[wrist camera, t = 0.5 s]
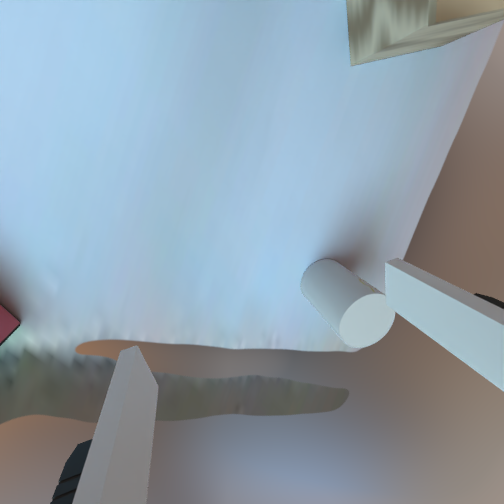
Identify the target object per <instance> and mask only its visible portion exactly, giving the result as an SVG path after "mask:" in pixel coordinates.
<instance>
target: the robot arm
mask: <svg viewBox="0 0 504 504" xmlns="http://www.w3.org/2000/svg"><path fill="white" fill-rule="evenodd" d="M385 288H386V305H387V306H389V307H390V308H392V309H393V310H394V311H396V312H397V313H398V314H400V315H401V316H403V317H404V318H405V319H406V320H408V321H409V322H411V323H412V324H413V325H415V326H416V327H417V328H419V329H420V330H421V331H423V332H424V333H425V334H427V335H428V336H430V337H431V338H432V339H434V340H435V341H436V342H438V343H439V344H440V345H442V346H443V347H444V348H446V349H447V350H448V351H450V352H451V353H452V354H454V355H455V356H456V357H458V358H459V359H461V360H462V361H463V362H465V363H466V364H467V365H469V366H470V367H471V368H473V369H474V370H475V371H477V372H478V373H479V374H481V375H482V376H484V377H485V378H486V379H488V380H489V381H490V382H492V383H493V384H494V385H496V386H497V387H498V388H500V389H501V390H503V391H504V303H503V302H501V301H499V300H497V299H495V298H492V297H488V296H485V295H481V294H477V293H476V294H471V293H469V292H467V291H465V290H463V289H461V288H459V287H457V286H454V285H452V284H450V283H448V282H446V281H444V280H442V279H440V278H438V277H436V276H434V275H431V274H430V273H428V272H426V271H423V270H421V269H419V268H417V267H415V266H413V265H411V264H409V263H407V262H405V261H403V260H401V259H399V258H396V259H393V260H390V261H387V262H385ZM157 396H158V385H157V383H156V381H155V379H154V377H153V375H152V373H151V371H150V369H149V367H148V365H147V363H146V361H145V360H144V357H143V355H142V354H141V352H140V350H139V347H138V346H134V347H131V348H128V349H125V350H122V351H120V355H119V358H118V361H117V364H116V367H115V370H114V373H113V376H112V380H111V383H110V386H109V389H108V392H107V395H106V399H105V402H104V405H103V408H102V411H101V414H100V418H99V421H98V424H97V427H96V430H95V433H94V437H93V439H91V440H88V441H86V442H83V443H80V444H78V445H77V447H76V448H75V450H74V451H73V453H72V454H71V456H70V457H69V459H68V460H67V462H66V463H65V466H64V469H63V471H62V474H61V477H60V479H59V485H57V487H56V490H55V493H54V495H53V501H52V502H51V503H50V504H146V500H147V491H148V481H149V471H150V462H151V453H152V443H153V433H154V424H155V415H156V405H157Z"/></svg>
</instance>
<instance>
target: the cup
mask: <svg viewBox="0 0 504 504" xmlns="http://www.w3.org/2000/svg"><path fill="white" fill-rule="evenodd" d="M300 287H301V292H302V294H303V295H304V297H305V298H306V299H307V300H308V301H309V302H310V304H311V305H312V306H313V307H314V308H315V309H316V311H317V312H318V313H319V314H320V315H321V316H322V318H323V319H324V320H325V321H326V322H327V323H328V325H329V326H330V327H331V328H332V329H333V330H334V332H335V333H336V334H337V335H338V336H339V337H340V338H341V340H342V341H343V342H344V343H345V344H346V345H348V346H350V347H353V348H363V347H367V346H369V345H372V344H374V343H376V342H377V341H379V340H380V339H381V338H382V337H383V336H384V335H385V334H386V333H387V332H388V331H389V329H390V327H391V326H392V324H393V321H394V318H395V311H394V310H393V309H392V308H390V307H389V306H387V305H386V295H385V294H383V293H382V292H380V291H379V290H377V289H376V288H374V287H373V286H371V285H370V284H369V283H367V282H366V281H364V280H363V279H361V278H360V277H358V276H357V275H355V274H354V273H353V272H351V271H350V270H348V269H347V268H345V267H344V266H342V265H341V264H339V263H338V262H336V261H335V260H332V259H322V260H319V261H316V262H314V263H313V264H311V265H310V266H309V267H308V268H307V269H306V271H305V272H304V274H303V276H302V278H301V283H300Z"/></svg>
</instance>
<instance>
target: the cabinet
mask: <svg viewBox="0 0 504 504" xmlns="http://www.w3.org/2000/svg"><path fill="white" fill-rule="evenodd" d="M346 2H347V17H348V32H349V47H350V62H351V66H354V65H358V64H363V63H367V62H372V61H376V60H381V59H385V58H390V57H394V56H399V55H403V54H408V53H412V52H417V51H421V50H426V49H430V48H435V47H439V46H443V45H445V44H447V43H450V42H452V41H454V40H457V39H459V38H461V37H464V36H466V35H468V34H471V33H473V32H475V31H478V30H480V29H482V28H485V27H487V26H489V25H492V24H494V23H496V22H499V21H501V20H503V19H504V0H346Z"/></svg>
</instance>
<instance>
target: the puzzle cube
mask: <svg viewBox="0 0 504 504" xmlns="http://www.w3.org/2000/svg"><path fill="white" fill-rule="evenodd" d="M19 326H20V322H19V321H18V320H17V319H16V318H15V317H14V316H12V315H11V314H10V313H9V312H8V311H7V310H6V309H5V308H4V307H2V306H1V305H0V346H1V345H2V344H3V343H4V342H5V341H6V340H7V338H8V337H9V336H10V335H11V334H12V333H13V332H14V331H15V330H16V329H17V328H18V327H19Z"/></svg>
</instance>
